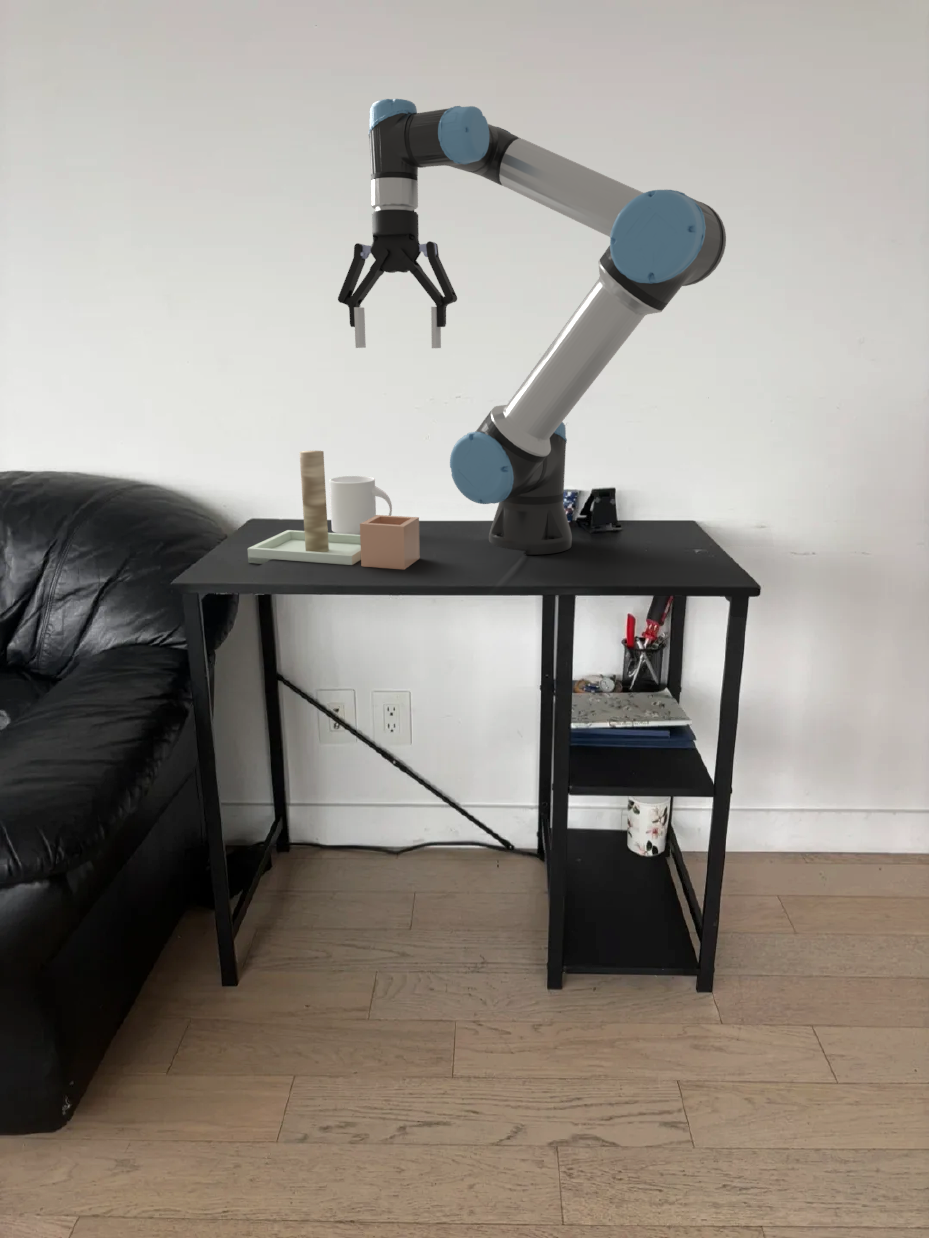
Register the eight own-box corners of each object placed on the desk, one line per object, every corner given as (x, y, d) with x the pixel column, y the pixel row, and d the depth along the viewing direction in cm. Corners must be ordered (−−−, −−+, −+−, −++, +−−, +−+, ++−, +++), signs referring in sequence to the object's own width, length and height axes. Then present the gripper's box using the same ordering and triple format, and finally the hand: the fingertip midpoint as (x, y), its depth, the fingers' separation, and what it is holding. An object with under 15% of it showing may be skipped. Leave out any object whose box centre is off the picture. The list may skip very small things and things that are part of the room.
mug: (385, 541, 164) (384, 484, 161) (325, 538, 167) (322, 482, 164) (398, 531, 172) (397, 477, 169) (341, 528, 175) (338, 475, 171)
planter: (419, 563, 148) (418, 517, 146) (404, 575, 141) (403, 526, 139) (378, 560, 150) (376, 514, 148) (361, 571, 143) (359, 523, 141)
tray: (384, 549, 158) (384, 536, 157) (352, 570, 144) (351, 556, 143) (288, 543, 163) (287, 530, 162) (248, 562, 149) (247, 548, 148)
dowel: (332, 548, 154) (327, 450, 149) (322, 553, 151) (317, 453, 146) (311, 547, 155) (305, 450, 150) (301, 552, 152) (295, 452, 147)
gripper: (475, 211, 142) (474, 348, 149) (333, 216, 149) (338, 347, 155) (462, 205, 135) (462, 348, 142) (314, 210, 142) (321, 348, 148)
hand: (398, 348), depth 149 cm, fingers open, 13 cm apart
